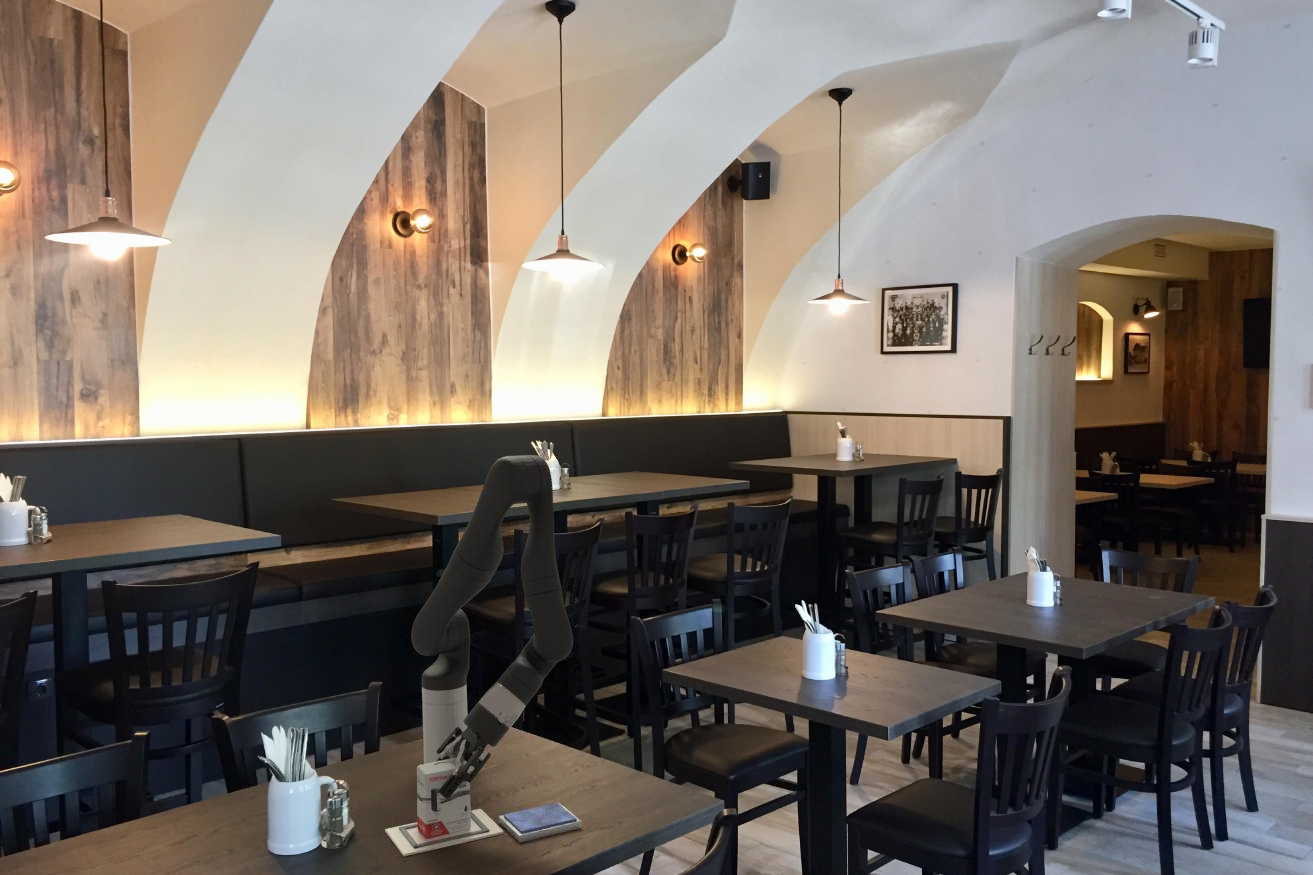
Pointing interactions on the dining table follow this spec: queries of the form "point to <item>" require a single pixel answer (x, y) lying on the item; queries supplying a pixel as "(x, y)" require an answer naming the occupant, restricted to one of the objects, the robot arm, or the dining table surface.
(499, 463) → the robot arm
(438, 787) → the ink box
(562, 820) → the ink pad
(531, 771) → the dining table surface
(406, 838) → the sheet
